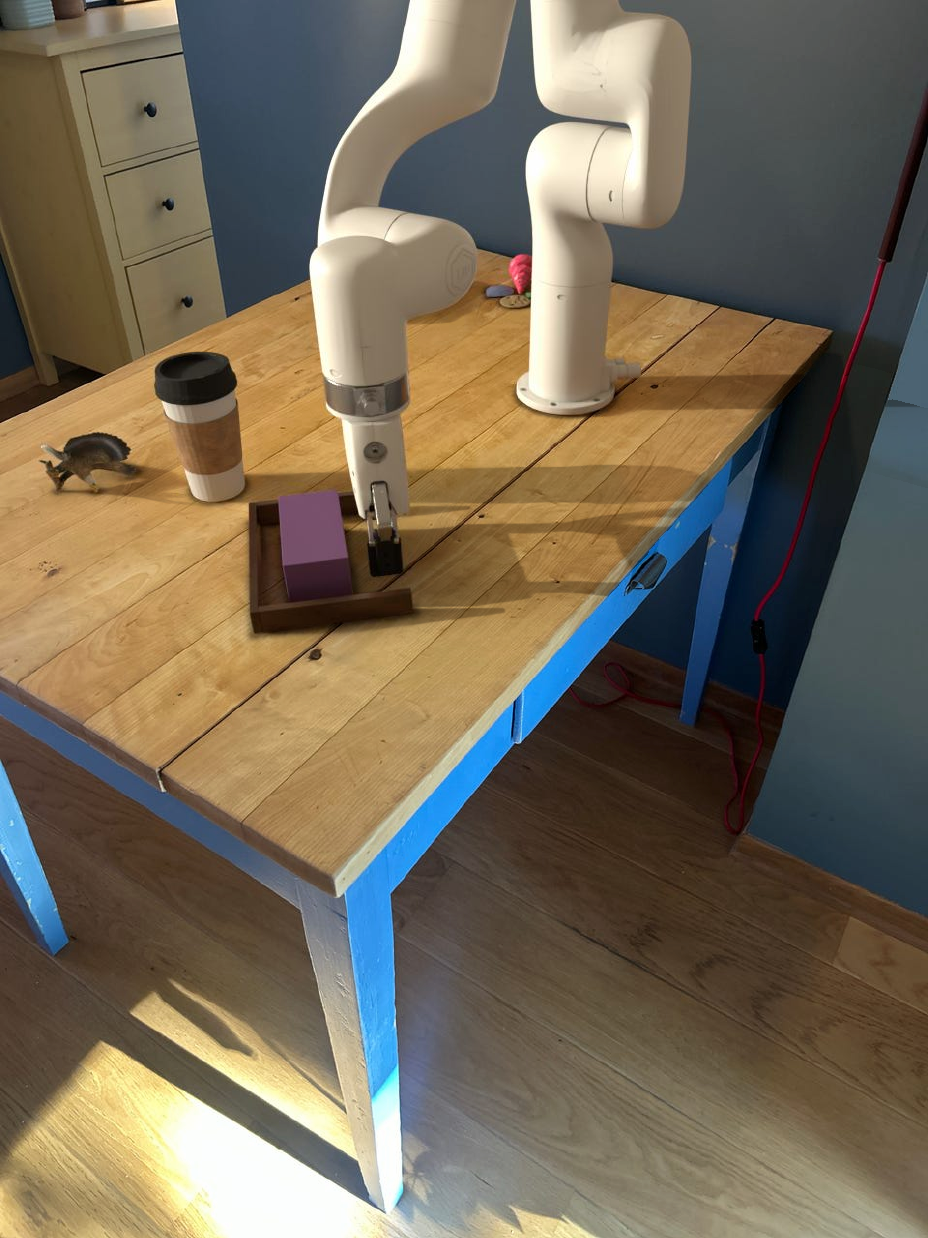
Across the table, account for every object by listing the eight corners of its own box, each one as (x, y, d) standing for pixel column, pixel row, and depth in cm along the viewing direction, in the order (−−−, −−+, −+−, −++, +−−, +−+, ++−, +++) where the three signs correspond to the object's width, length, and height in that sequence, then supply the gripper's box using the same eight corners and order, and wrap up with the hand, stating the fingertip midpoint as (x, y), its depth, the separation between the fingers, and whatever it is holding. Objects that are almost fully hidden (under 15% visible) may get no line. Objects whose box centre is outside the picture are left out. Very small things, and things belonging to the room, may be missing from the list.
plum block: (342, 529, 99) (337, 489, 95) (353, 599, 90) (348, 557, 86) (285, 536, 98) (278, 495, 95) (290, 607, 89) (282, 565, 86)
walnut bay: (389, 506, 102) (388, 486, 100) (413, 613, 88) (411, 592, 86) (252, 522, 100) (248, 502, 98) (253, 634, 86) (249, 613, 84)
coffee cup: (220, 516, 101) (191, 388, 91) (164, 494, 104) (131, 369, 95) (271, 480, 106) (250, 356, 97) (216, 461, 110) (190, 339, 100)
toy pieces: (476, 283, 152) (476, 255, 149) (542, 275, 153) (543, 248, 151) (495, 310, 143) (495, 282, 140) (565, 302, 145) (567, 274, 142)
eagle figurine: (66, 506, 101) (142, 467, 104) (29, 446, 99) (107, 408, 102) (67, 508, 108) (138, 472, 111) (32, 453, 106) (105, 417, 109)
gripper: (422, 430, 76) (430, 593, 88) (397, 343, 90) (408, 495, 101) (330, 439, 76) (350, 603, 87) (319, 350, 89) (338, 502, 100)
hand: (381, 544), depth 94 cm, fingers open, 9 cm apart
